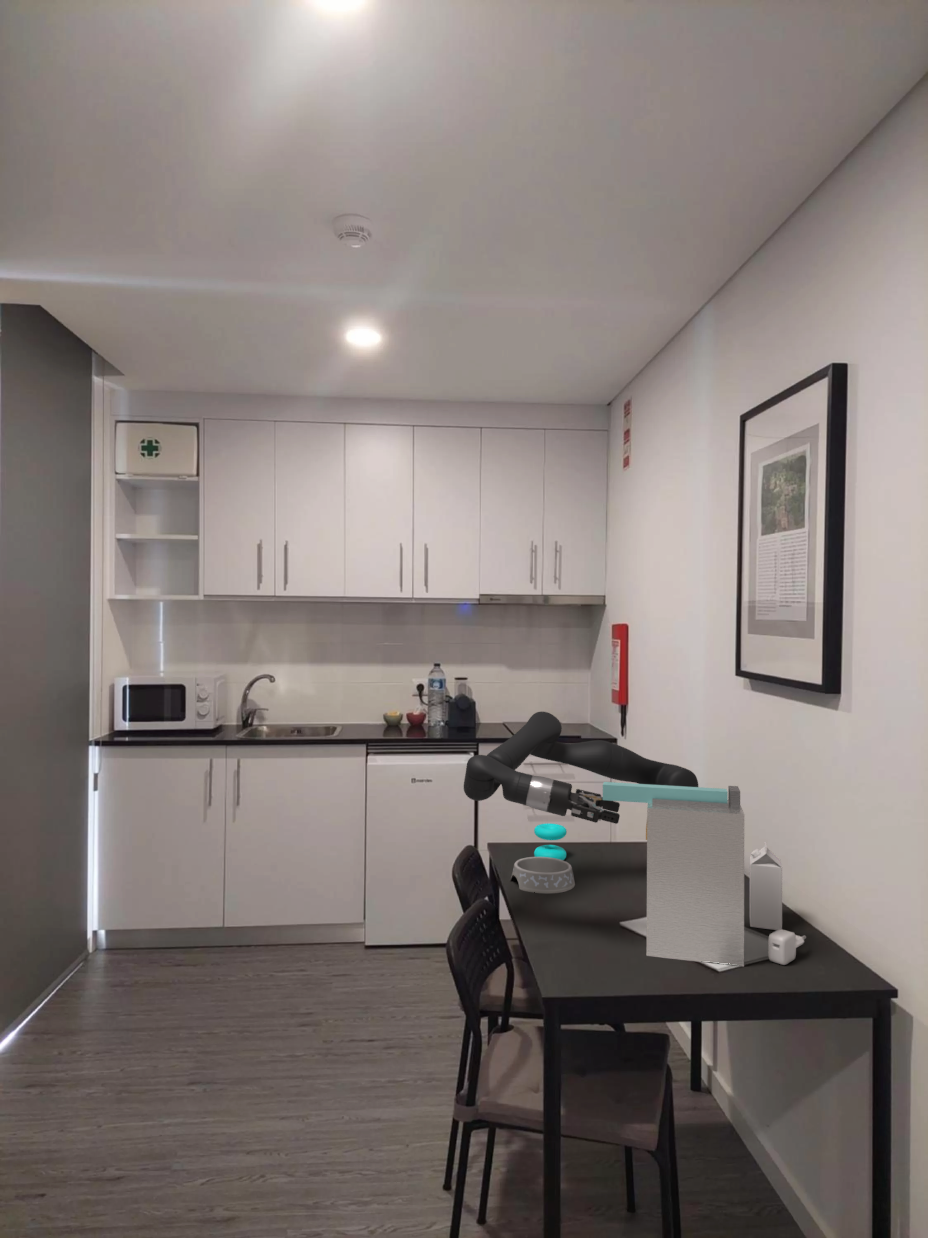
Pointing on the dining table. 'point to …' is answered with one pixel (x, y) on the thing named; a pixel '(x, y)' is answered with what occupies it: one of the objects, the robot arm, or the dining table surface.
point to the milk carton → (765, 890)
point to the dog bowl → (543, 875)
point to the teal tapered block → (661, 793)
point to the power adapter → (783, 946)
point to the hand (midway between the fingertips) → (619, 813)
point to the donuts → (550, 833)
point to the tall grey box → (696, 879)
